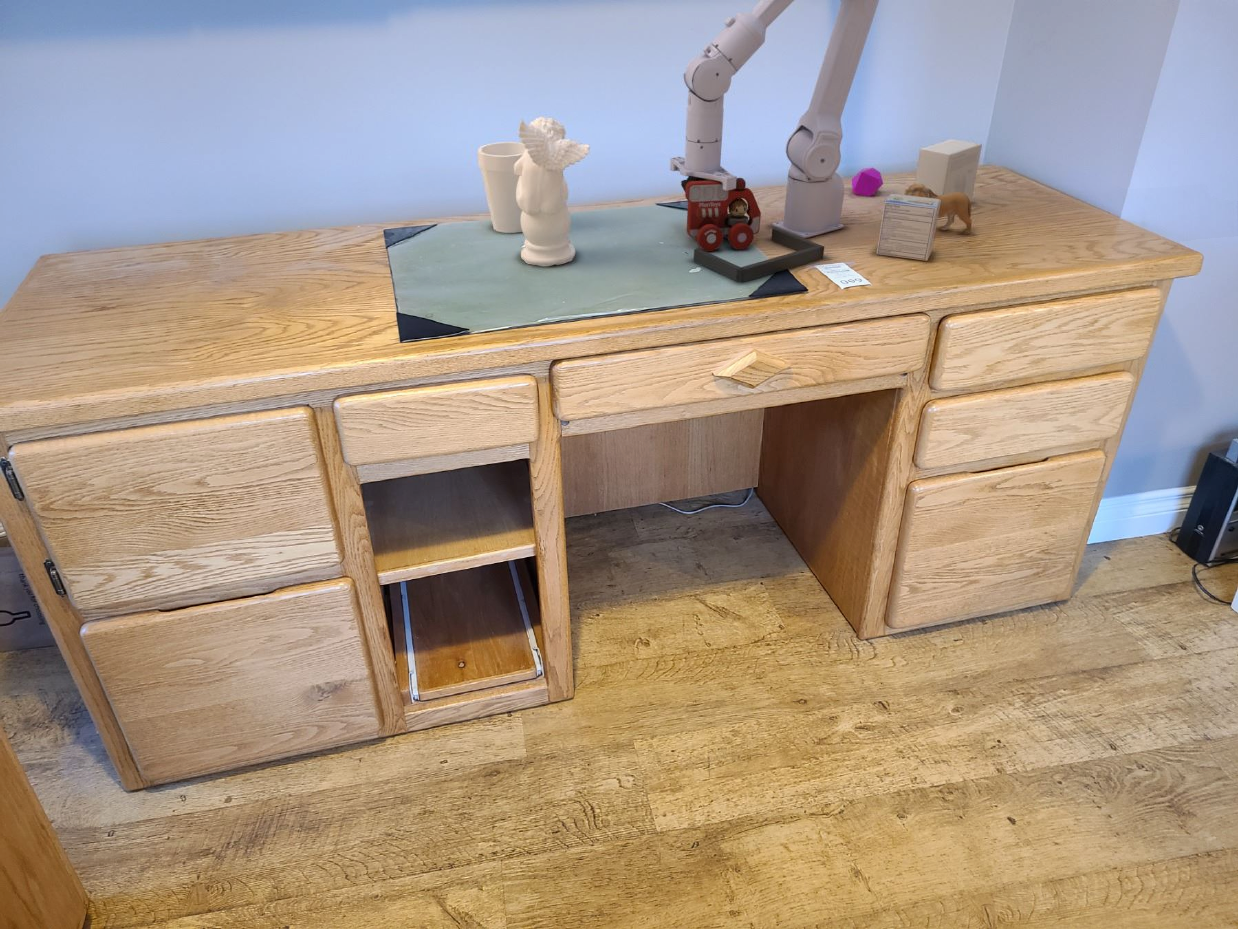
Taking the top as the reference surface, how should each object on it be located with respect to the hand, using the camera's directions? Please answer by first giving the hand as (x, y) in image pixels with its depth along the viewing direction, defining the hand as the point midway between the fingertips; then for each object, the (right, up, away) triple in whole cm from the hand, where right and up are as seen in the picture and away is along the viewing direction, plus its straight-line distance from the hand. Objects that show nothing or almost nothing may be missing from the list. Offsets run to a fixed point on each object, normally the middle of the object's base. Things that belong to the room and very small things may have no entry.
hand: (699, 223), depth 149 cm
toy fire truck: (+3, -4, -3) cm, 6 cm away
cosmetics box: (+45, +7, +14) cm, 48 cm away
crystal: (+33, +11, +20) cm, 40 cm away
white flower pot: (-32, +1, +5) cm, 32 cm away
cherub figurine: (-23, -8, -8) cm, 26 cm away
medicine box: (+32, -7, -7) cm, 33 cm away
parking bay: (+8, -8, -9) cm, 15 cm away
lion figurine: (+39, -2, 0) cm, 39 cm away
